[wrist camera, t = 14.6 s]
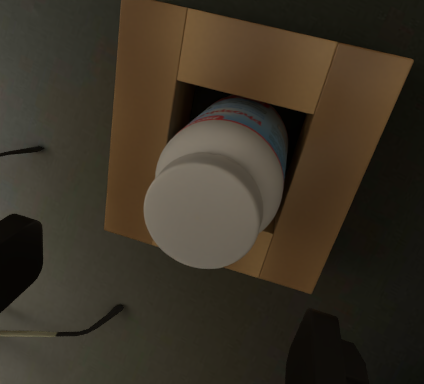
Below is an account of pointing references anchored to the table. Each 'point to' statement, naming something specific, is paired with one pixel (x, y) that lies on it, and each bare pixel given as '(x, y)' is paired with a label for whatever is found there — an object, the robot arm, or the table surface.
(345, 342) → the robot arm
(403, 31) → the table surface
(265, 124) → the pill bottle
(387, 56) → the frame
